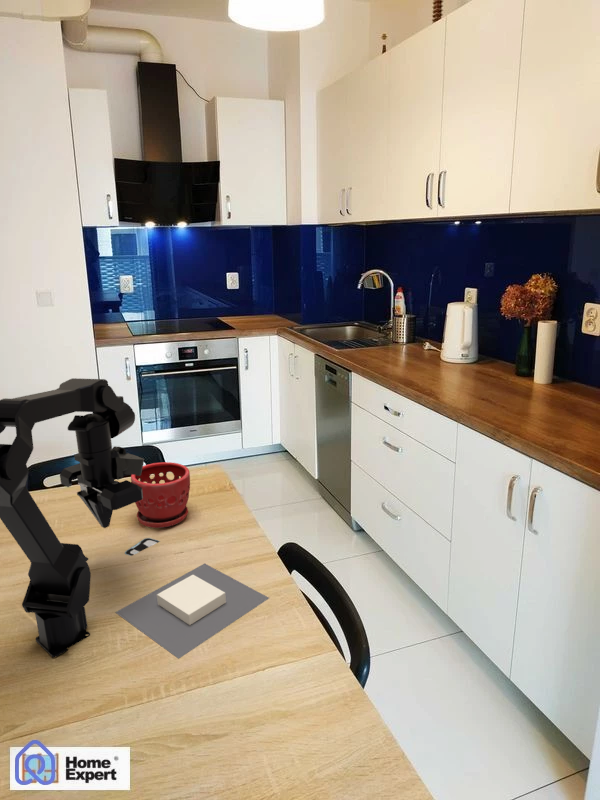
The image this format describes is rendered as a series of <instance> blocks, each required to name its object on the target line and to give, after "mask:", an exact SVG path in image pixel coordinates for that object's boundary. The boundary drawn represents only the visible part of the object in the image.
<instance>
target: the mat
mask: <svg viewBox="0 0 600 800" xmlns="http://www.w3.org/2000/svg"><path fill="white" fill-rule="evenodd" d="M191 575H195V576H196V577H198V578H200V579H202V580H204V581H205V582H207V583H209V584H211V585H212V586H214V587H216V588H218V589H220V590H221V591H223V592H225V596H226V603H224V604H223V605H221V606H220V607H218V608H216V609H215V610H213V611H212V612H210V613H209V614H207V615H205V616H204V617H202V618H201V619H199V620H197V621H196V622H194V623H193V624H191V625H189V624H187V623H186V622H184V621H183V620H181V619H180V618H178V617H177V616H175V615H173V614H172V613H170V612H169V611H167V610H166V609H164V608H163V607H161V606H160V605H158V600H157V594H159V593H161V592H162V591H164V590H166V589H168V588H170V587H171V586H173V585H175V584H177V583H179V582H180V581H182V580H184V579H186V578H188V577H189V576H191ZM269 599H270V597H269V596H267V595H265V594H263V593H261V592H259V591H257V590H255V589H253V588H252V587H251V586H248V585H246V584H244V583H243V582H240V581H239V580H237V579H236V578H235V579H234V578H233V577H231V576H229V575H228V574H225V573H223V572H221V571H219V569H216V568H214V567H212V566H210V565H208V564H206V563H203V564H201V565H199V566H197V567H195V568H194V569H192V570H190V571H188V572H186V573H184V574H183V575H181V576H179V577H178V578H175V579H173V580H172V581H170V582H168V583H166V584H164V585H162V586H161V587H159V588H157V589H154V591H151V592H150V593H148V594H146V595H145V596H142V597H141V598H138V599H137V600H135V601H133V602H131V603H130V604H128V605H125V606H124V607H122V608H121V609H118V610H117V611H115V612H114V613H115V614H117V615H118V616H119V617H121V618H123V620H125V621H126V622H128V623H129V624H130V625H132V626H133V627H134V628H136V629H137V630H139V631H140V632H141V633H142V634H144V635H145V636H147V637H148V638H150V639H151V640H152V641H154V642H155V643H156V644H158V645H159V646H160V647H162V648H163V649H164V650H166V651H167V652H169V654H171V655H172V656H174V657H175V658H177V659H178V660H179V659H181V658H182V657H184V656H185V655H186V654H188V653H190V652H191V651H193V650H194V649H196V648H197V647H199V646H200V645H201V644H203V643H205V642H206V641H208V640H209V639H210V638H212V637H214V636H215V635H216V634H218V633H219V632H221V631H222V630H224V629H226V628H227V627H228V626H230V625H232V624H233V623H234V622H236V621H238V620H239V619H241V618H243V616H246V614H248V613H249V612H251V611H253V609H255V608H257V607H259V606H260V605H261V604H263V603H264V602H265V601H267V600H269Z"/></svg>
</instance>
